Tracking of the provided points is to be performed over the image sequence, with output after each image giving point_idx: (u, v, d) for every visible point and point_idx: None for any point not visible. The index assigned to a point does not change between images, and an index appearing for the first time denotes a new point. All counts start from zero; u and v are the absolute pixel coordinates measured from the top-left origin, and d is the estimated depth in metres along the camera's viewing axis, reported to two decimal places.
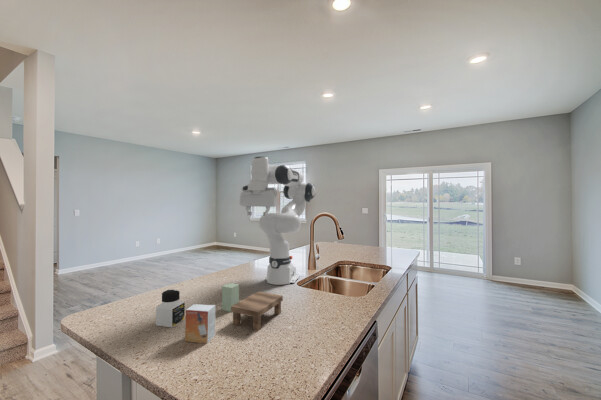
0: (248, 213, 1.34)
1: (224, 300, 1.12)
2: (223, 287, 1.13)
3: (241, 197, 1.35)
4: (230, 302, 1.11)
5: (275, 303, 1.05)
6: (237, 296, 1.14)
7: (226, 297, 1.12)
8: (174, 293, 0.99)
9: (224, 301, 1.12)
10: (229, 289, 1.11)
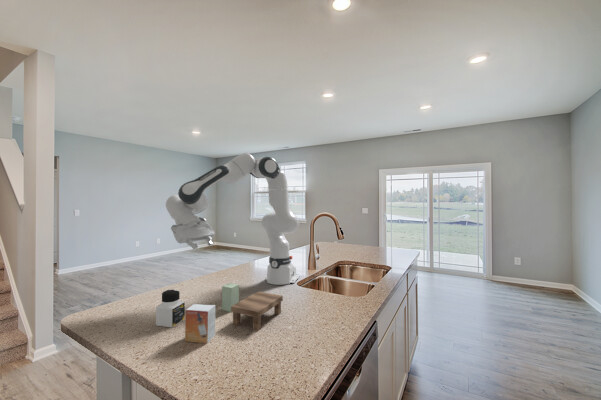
0: None
1: (224, 300, 1.12)
2: (223, 287, 1.13)
3: None
4: (230, 302, 1.11)
5: (275, 303, 1.05)
6: (237, 296, 1.14)
7: (226, 297, 1.12)
8: (174, 293, 0.99)
9: (224, 301, 1.12)
10: (229, 289, 1.11)
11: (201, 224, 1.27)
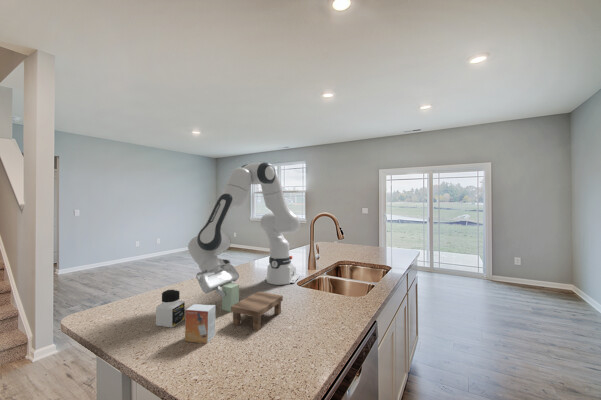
0: None
1: (224, 300, 1.12)
2: (223, 287, 1.13)
3: None
4: (230, 302, 1.11)
5: (275, 303, 1.05)
6: (237, 296, 1.14)
7: (226, 297, 1.12)
8: (174, 293, 0.99)
9: (224, 301, 1.12)
10: (229, 289, 1.11)
11: (226, 267, 1.21)
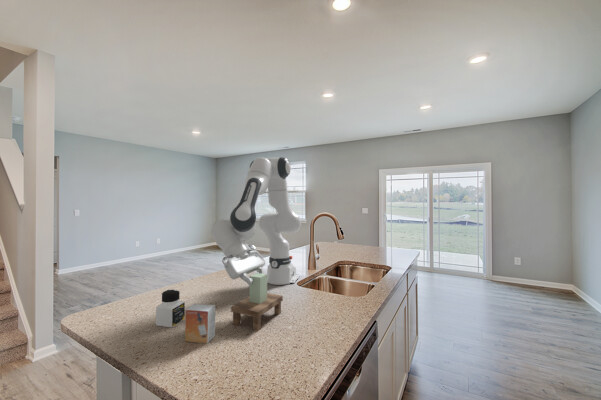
0: None
1: (252, 291, 1.03)
2: (251, 277, 1.03)
3: None
4: (258, 293, 1.02)
5: (275, 303, 1.05)
6: (265, 286, 1.05)
7: (254, 288, 1.03)
8: (174, 293, 0.99)
9: (252, 292, 1.03)
10: (257, 279, 1.02)
11: (251, 253, 1.11)
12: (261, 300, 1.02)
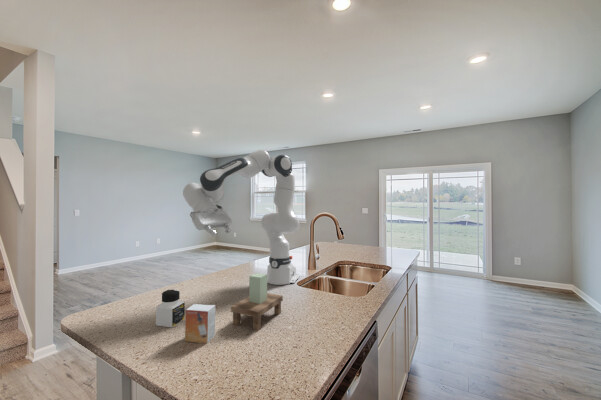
0: None
1: (252, 291, 1.03)
2: (251, 277, 1.03)
3: None
4: (258, 293, 1.02)
5: (275, 303, 1.05)
6: (265, 286, 1.05)
7: (254, 288, 1.03)
8: (174, 293, 0.99)
9: (252, 292, 1.03)
10: (257, 279, 1.02)
11: (218, 211, 1.27)
12: (261, 300, 1.02)
